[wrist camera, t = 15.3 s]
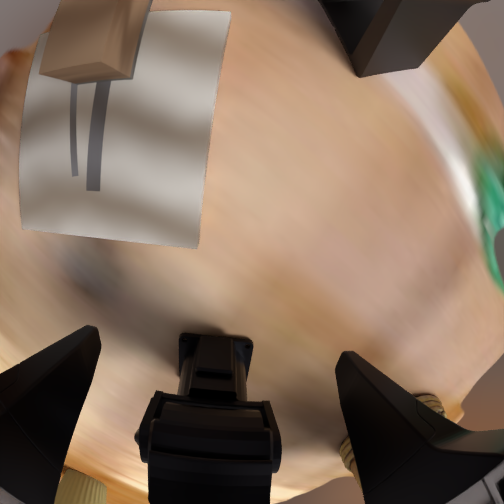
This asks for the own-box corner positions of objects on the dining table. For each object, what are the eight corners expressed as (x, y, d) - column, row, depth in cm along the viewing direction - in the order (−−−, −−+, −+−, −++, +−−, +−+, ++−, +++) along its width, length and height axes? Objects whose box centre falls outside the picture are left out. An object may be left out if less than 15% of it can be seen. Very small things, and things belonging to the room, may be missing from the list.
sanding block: (132, 79, 14) (100, 61, 10) (78, 84, 14) (38, 74, 9) (153, -3, 12) (133, -36, 7) (99, 5, 11) (69, -20, 7)
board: (199, 243, 20) (197, 249, 19) (29, 224, 18) (21, 229, 17) (231, 18, 14) (230, 11, 13) (47, 37, 12) (40, 34, 11)
